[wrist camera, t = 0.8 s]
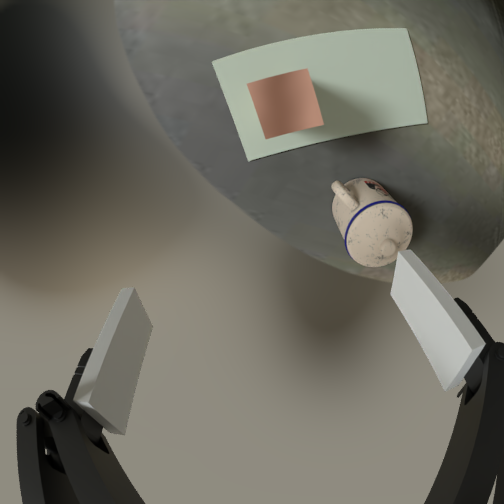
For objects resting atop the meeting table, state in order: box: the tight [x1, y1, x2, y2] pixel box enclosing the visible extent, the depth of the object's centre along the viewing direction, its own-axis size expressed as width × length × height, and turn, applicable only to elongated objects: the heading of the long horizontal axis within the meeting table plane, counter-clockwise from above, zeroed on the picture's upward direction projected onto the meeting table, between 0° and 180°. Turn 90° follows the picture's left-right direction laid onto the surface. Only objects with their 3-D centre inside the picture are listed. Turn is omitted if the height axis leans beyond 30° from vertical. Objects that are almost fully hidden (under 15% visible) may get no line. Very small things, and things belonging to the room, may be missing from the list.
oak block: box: [247, 68, 324, 139], centre depth 24 cm, size 5×5×12 cm
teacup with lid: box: [332, 178, 413, 267], centre depth 32 cm, size 12×9×12 cm
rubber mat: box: [212, 28, 428, 161], centre depth 28 cm, size 26×14×1 cm, turn 108°
